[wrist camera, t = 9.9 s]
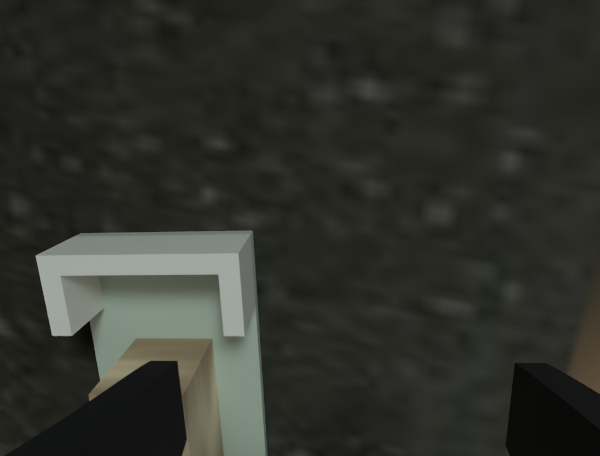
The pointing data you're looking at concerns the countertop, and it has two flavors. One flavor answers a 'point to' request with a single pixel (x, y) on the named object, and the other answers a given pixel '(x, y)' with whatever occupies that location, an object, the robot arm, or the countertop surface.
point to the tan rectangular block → (193, 380)
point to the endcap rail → (168, 308)
